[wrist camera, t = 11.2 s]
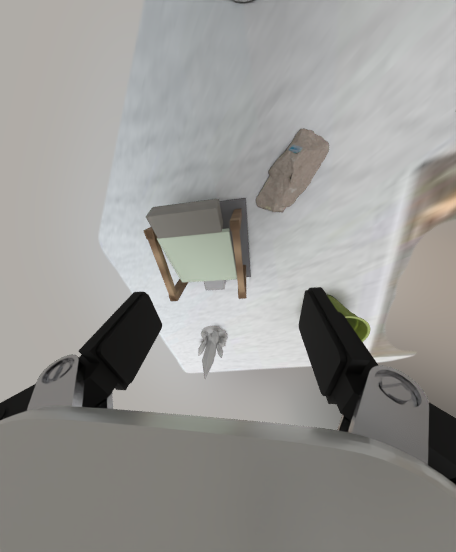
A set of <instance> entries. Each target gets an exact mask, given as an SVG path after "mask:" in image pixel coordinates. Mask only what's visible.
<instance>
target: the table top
mask: <svg viewBox="0 0 456 552" xmlns="http://www.w3.org/2000/svg"><path fill="white" fill-rule="evenodd" d="M219 203H220V208H221V213H222V219H223V227H222V229H227V228H229V230H230V236H231V242H232V248H233V254H234V245H233V236H232V231H231V229H230V219H231V216H232V214H233V211H234V209H241V210H242V220H241V229H240V240H241V252H242V263H243V265H246V277H251V273H250V258H249V242H248V227H247V211H246V198H241V199H234V200H226V201H219ZM234 260H235V254H234ZM235 266H236V262H235ZM236 272H237V271H236Z"/></svg>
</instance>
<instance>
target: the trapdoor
mask: <svg viewBox="0 0 456 552" xmlns="http://www.w3.org/2000/svg"><path fill="white" fill-rule="evenodd" d="M146 218H147V220H148V222H149V224H150V225H151V227H152V229H153V230H154V232H155V234H156V236H157V237H158V238H157V240H158V242H159V244H160V245H161V247H162V249H163V251H164V252H165V254H166V256H167V257H168V259H169V261H170V262H171V264H172V266H173V268H174V269H175V271H176V273H177V274H178V276H179V278H180V280H181V281H182V282H199V281H216V280H234V279H237V272H236V266H235V260H234V254H233V248H232V242H231V236H230V230H229V228H227V229H222V227H223V219H222V213H221V208H220V203H219V199H212V200H204V201H197V202H189V203H182V204H174V205H166V206H159V207H153V208H152V209H151V210H150V212H149V213H148V214H147V216H146Z"/></svg>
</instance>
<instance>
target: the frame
mask: <svg viewBox="0 0 456 552" xmlns="http://www.w3.org/2000/svg"><path fill="white" fill-rule="evenodd" d="M241 220H242V210H241V209H234V211H233V214H232V216H231V219H230V229H231V231H232V236H233V245H234V254H235V262H236V271H237V280H238V297H239V299H241V298H246V265H243V263H242V252H241V240H240V229H241ZM144 233H145V236H146V238H147V239H148V241H149V243H150V246H151V249H152V251H153V254H154V257H155V259H156V262H157V264H158V267H159V270H160V272H161V275H162V277H163V280H164V283H165V285H166V288H167V291H168V293H169V298H170V301H178V299H179V298H180V296H181V294H182V292H183V291H184V289H185V287H186V285H187V284H188V282H182V281H181V280H180V279H179V281H178V282H177V284H176V285H175V286H174V283H173V280H172V277H171V275H170V272H169V269H168V266H167V263H166V260H165V257H164V255H163V252H162V249H161V246H160V244H159V242H158V240H157V238H158V237H157V236H156V234H155V232H154V230H153V229H152V227H150V228H148V229H146V230H144Z"/></svg>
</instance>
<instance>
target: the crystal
mask: <svg viewBox="0 0 456 552" xmlns="http://www.w3.org/2000/svg"><path fill="white" fill-rule="evenodd" d="M201 336H202V338H203V340H204V341H203V342H202V344H201V345H200V347H199V355H200V354H201V353H202V352H203V351H204V348H205V347H206V349H205V352H204V356H203V359H202V363H203V371H204V378H205V379H206V376H207V374H208V372H209V370H210V368H211V366H212V364H213V362H214V357H215V354H216V348H217V351H218V354H219V356H220V357H221V358H222V355H223V350H222V347H223V346H225V344H226V340H227V338H228V336H227V333H226V331H225V330H223V329H221V328H220V327H217V326H208V327H205V328H204V329H203V330H202V332H201ZM206 345H207V346H206Z"/></svg>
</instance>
